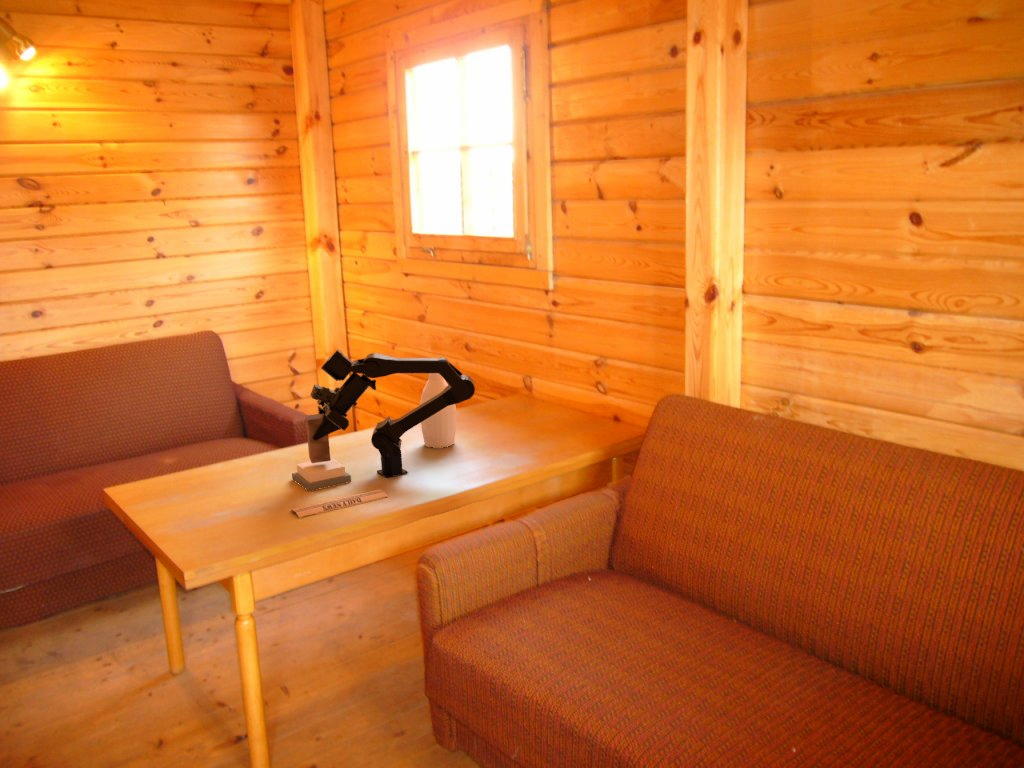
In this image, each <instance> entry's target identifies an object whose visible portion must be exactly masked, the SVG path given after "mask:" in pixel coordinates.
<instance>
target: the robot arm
mask: <svg viewBox="0 0 1024 768" xmlns="http://www.w3.org/2000/svg"><path fill="white" fill-rule="evenodd" d="M320 369H321V370H322V371H324V372H325V373H326V374H328V376H330V377H331V378H332V379H333V380H335V381H336V382H337V381H340V382H341V381H342V382H343V381H344V380H345V379H346V378H347V379H346V380H345V381H344V383H343V384H342V385H341V386H340V387H339V386H337V387H336V388H334V390H332V389H330V388H329V387H325V386H322V385H318V384H314V385H313V387H312V390H311V392H310V397H311V398H312V399H313V400H316V401H317V402H316V403H317V404H318V406H317V410H318V411H317V412H318V413H317V414H322V418H323V421H322V423H321V425H320V426H319V428H318V429H317V431H316V433H315V434H314V436H313V439H314V440H318V439H320V438H322V437H324V436H326V435H328V436H329V434H332V433H334V432H336V431H339V430H342V431H346V430H347V429H348V427H349V426H350V424H349V423H350V422H349V419H348V417H347V416H348V414H347V413H348V412H349V411H350V410H351V408H353V406H354V407H356V406H357V405H358V402H357V401H358V400H359V399H360V398H361V397H362V395H363V394H364V393H365V392H366V390H368V388H371V389H372V390H373V391H376V390H377V386H376V383H377V379H378V378H383V377H387V376H390V375H395V374H429V373H439V374H440V375H441V376H442V377H443V378H444V380H445V381H446V383H447V384H448V386H447V387H446V388H445V389H444V390H443V391H442V392H441V393H439V394H438V395H436V396H434V397H433V398H431V399H430V400H428V401H426V402H425V403H423V404H421V405H420V404H419V405H418V406H417V407H414V408H413V409H412V410H410V411H409V412H407V413H405V414H403V415H402V416H400V417H399V418H395V419H392V418H391V416H387V417H386V418H385V419H384V420H382V421H379V422H377V424H376V426H375V427H374V429H373V432H372V435H371V440H370V441H371V444H372V446H373V447H374V448H375V449H377V450H378V452H379V454H380V465H381V466H380V467H381V469H377V470H376V472H377V474H379V475H381V476H383V477H385V478H388V479H389V478H393V477H396V476H400V475H405V474H408V473H409V472H408V470H406V469H405V468H403V457H402V455H403V454H402V450H401V448H402V439H401V437H402V436H403V435H404V434H405V433H406V432H408V431H409V430H411V429H413V428H414V427H416V426H417V425H419V424H421V422H423V421H424V420H426V419H427V418H429V417H431V416H432V415H434V414H436V413H437V412H439V411H441V410H442V409H444V408H445V407H447V406H449V405H453V404H455V405H457V404H461V403H462V402H465V401H468V400H470V399H472V397H473V396H474V395H475V392H476V391H475V390H476V389H475V388H476V387H475V381H474V379H473V378H472V377H471V376H470V375H468V374H463V373H462V372H461V371H460V370H459V369H458V368H457V367H455V366H454V364H452V363H451V362H450V361H449V360H448V359H447V358H446V357H443V356H442V357H441V356H440V357H394V356H391V355H387V354H382V353H376V352H372V353H369V354H367V355H366V357H364V358H360V359H355V360H353V361H352V360H351V359H350V358H348V357H347V356H346V355H345V354H344V353H343V352H342V351H341V350H340V349H336V351H335V352H333V354H332V355H331V356H329V357H328V359H326V361H325V362H324V364H323V365H321V367H320ZM350 373H351V374H350ZM376 378H377V379H376ZM324 414H325V415H324Z"/></svg>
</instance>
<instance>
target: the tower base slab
mask: <svg viewBox="0 0 1024 768" xmlns="http://www.w3.org/2000/svg"><path fill="white" fill-rule="evenodd" d="M351 476H352V475H351V474H349V473H347V472H346V471H345V476H340V477H335V478H330V479H325V480H321V481H316V482H311V483H310V482H308V481H307V480H306V479H304V478H303V477H302V476H301V475H299V474H298V472H292V473H291V479H293V480H294V481H293V480H292V481H293V482H295V481H296V482H297V483H299V484H300V485H301V486H300V485H299V484H298V485H299V486H300V487H302V486H303V487H304V489H305V488H306V489H307V490H308V491H307V490H306V489H305V490H306V491H307V492H309V491H310V492H313V491H312V490H314V491H317V490H316V489H318V490H320V489H319V488H323V489H325V488H324V487H327V488H329V487H328V486H331V487H334V486H333V485H336V486H339V485H338V484H340V485H343V484H342V483H344V484H347V483H346V482H348V483H351V482H352V477H351ZM296 482H295V483H296ZM297 483H296V484H297ZM303 487H302V488H303Z"/></svg>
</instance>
